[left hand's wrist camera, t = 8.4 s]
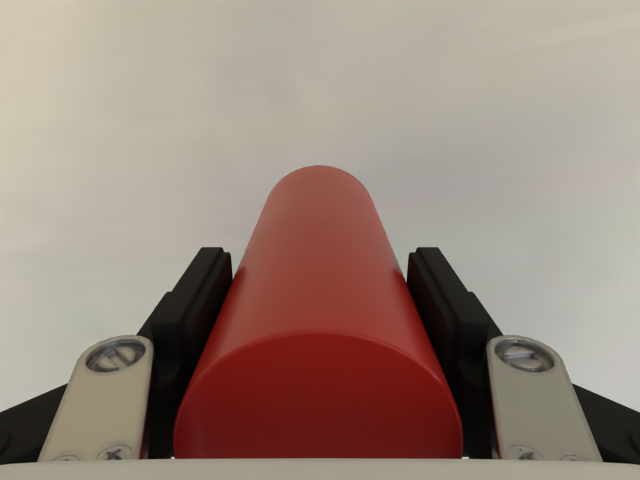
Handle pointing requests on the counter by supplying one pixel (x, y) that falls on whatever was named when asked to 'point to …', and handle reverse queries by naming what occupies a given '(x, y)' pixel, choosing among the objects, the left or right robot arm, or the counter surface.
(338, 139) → the counter surface
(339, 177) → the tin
